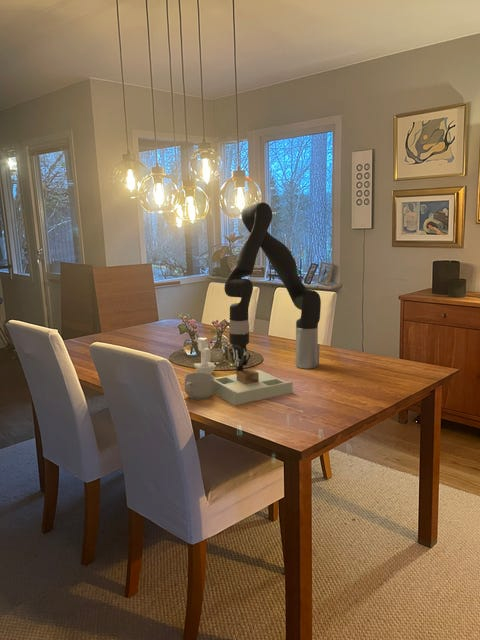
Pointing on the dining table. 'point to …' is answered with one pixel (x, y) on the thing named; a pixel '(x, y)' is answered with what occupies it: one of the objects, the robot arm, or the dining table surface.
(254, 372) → the block
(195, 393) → the teacup
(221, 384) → the box
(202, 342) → the figurine
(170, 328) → the dining table surface
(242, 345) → the robot arm
